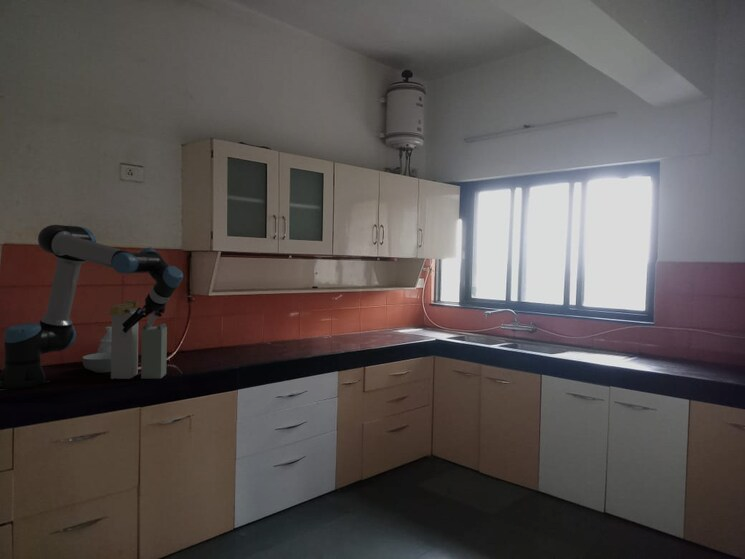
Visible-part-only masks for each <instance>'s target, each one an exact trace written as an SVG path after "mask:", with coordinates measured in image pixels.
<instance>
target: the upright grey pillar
mask: <svg viewBox="0 0 745 559" xmlns="http://www.w3.org/2000/svg"><path fill="white" fill-rule="evenodd" d="M167 341H168V326H167V323H165V322H164V323H161V324H159V325H157V326H153V325H152V326H150V325H149V324H148V323H146V324H145V325H143V326H142V329H141V350H140V351H141V354H140V356H141V359H140V360H141V366H140V368H141V369H140V378H141V379H144V380H145V379H162V378H163V377H164V376H166V374H167V357H168V356H167V349H168V347H167V346H168V344H167V343H168V342H167ZM141 379H140V380H141Z"/></svg>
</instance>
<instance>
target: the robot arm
mask: <svg viewBox="0 0 745 559" xmlns="http://www.w3.org/2000/svg"><path fill="white" fill-rule="evenodd" d="M37 236H38V237H37V242H38V245H39V247H40V248H41V249H42V250H43V251H44V252H46V253H49V254H51V255H52V254H53V255H54V257H55V259H57V260H56V261H57V262H56V265H55V271H54V274H53V280H52V285H51V289H50V294H49V299H48V303H47V309H46V310H45V311H46V313H45V315H43V316H42V317H40V320H39V323H37V322H27V323H20V324H14V325H12V326H9V327H7V328H6V329H5V331H4V338H3V341H4V366H3V369H2V372H1V373H0V374H1V375H0V388H2V389H22V388H23V389H24V388H30V387H36V386H40V385H43V384H45V383H46V375H45V371H44V369H43V367H42V366H43V365H42V364H41V355H43V354H49V353H54V352H61V351H63V350H67V349H68V348H70V347H71V346H72V345H73V344H74V343H75V341H76V339H77V338H76V337H77V332H76V327H75V326H74V325H73V321H72V319H71V318H70V317H71V313H72V308H73V303H74V300H75V294H76V289H77V285H78V282H79V276H80V272H81V268H82V265H83V264H85V263H86V262H90V263H93V264H97V265H100V266H103V267H107V268H111V269H113V270H114V271H115V272H116V273H119V274H124V275H125V274H126V275H129V274H149V276H150V277H151V278H152V279H153V280H154V281H155V284H154V285H153V286H152V288H151V290H150V291H149V293H148V294H147V295H146V297H145V299H144V303H145V305H143V306H142V307H138V309H137V310H136V312H135V313H134V314H132V315H131V316H130V317H129V318H128V319H127V320H126V321H125V322H124V323H123V324H122V325H123V326H124V328H123V330H122V331H121V333H120V334H121V335H122V336H123V337H124V338H126V337H127V335H128V334H129V332H130V331H131V329H132V327H133V326H134V325H135V324H136V323H137V322H138V323H139V322H140V321H141V320H142V319H144V318H147V317H148V316H149V315H150V316H149V317H148V318H147V320H146V324H149V325H150V326H152V327H153V324H154V323H155V322H156V321H157V319H158V317H159V318H161V317H162V316H163V315H162V314H164V313H165V309H166V305H167V303H168V302H169V301H170V298H171V297H172V295H173V294H174V292H175V291H176V290H177V288H178V287H179V286H180V285H181V282H183V279H184V274H183V271H182V270H181V269H180V268H178V267H177V266H174V265H169V264H167V262H166V261H165V259H164V258H163V257H162V256H161V254H160V253H159V252H158V251H156V249H154V248H152V247H148V248H144V249H142V250H141V251H140V252H138V253H137V252H130V251H127V250H122V249H119V248H116V247H112V246H109V245H105V244H102V243H98V242H97V238H96V236H95V235H94V233H93V231H92V230H90V229H89V228H86V227H82V226H77V225H63V224H50V225H48V226H46V227H43V228H42V229H41V230H40V232H39V234H38V235H37Z"/></svg>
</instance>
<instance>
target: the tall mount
mask: <svg viewBox="0 0 745 559" xmlns="http://www.w3.org/2000/svg"><path fill="white" fill-rule="evenodd" d="M136 310H137V308H132V309H128V310H127V313H124V314H121V315H111V327H112V328H111V329H112V333H111V372H110V379H111V380H114V379H115V378H116V379H118V380H119V379H121V380H124V379H126V380H127V379H128V380H131V379H133V378H134V377H135V376H137V375H138V374H139V373H138V372H139V369H138V368H139V367H138V366H139V322H137V323H136V324H135V325H134V326H133V327H132V329H131V331H130V332H129V334H128V335H127V337H126V338H124V337H123V336H122V335H121V334H120V333H121V331H122V330H123V328H124V326H123V325H122V324H123V323H124V322H125V321H126V320H127V319H128V318H129V317H130V316H131V315H132V314H134V313H135V312H136ZM130 378H131V379H130ZM116 379H115V380H116Z"/></svg>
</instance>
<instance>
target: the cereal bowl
mask: <svg viewBox="0 0 745 559" xmlns="http://www.w3.org/2000/svg"><path fill="white" fill-rule="evenodd" d="M81 360H82V364H83V365H82V366H83V367H84V368H85V369H87V370H89V371H92V372H94V373H97V374H104V373H111V353H97V352H96V353H92V354H86V355H83V356H82V359H81Z"/></svg>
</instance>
